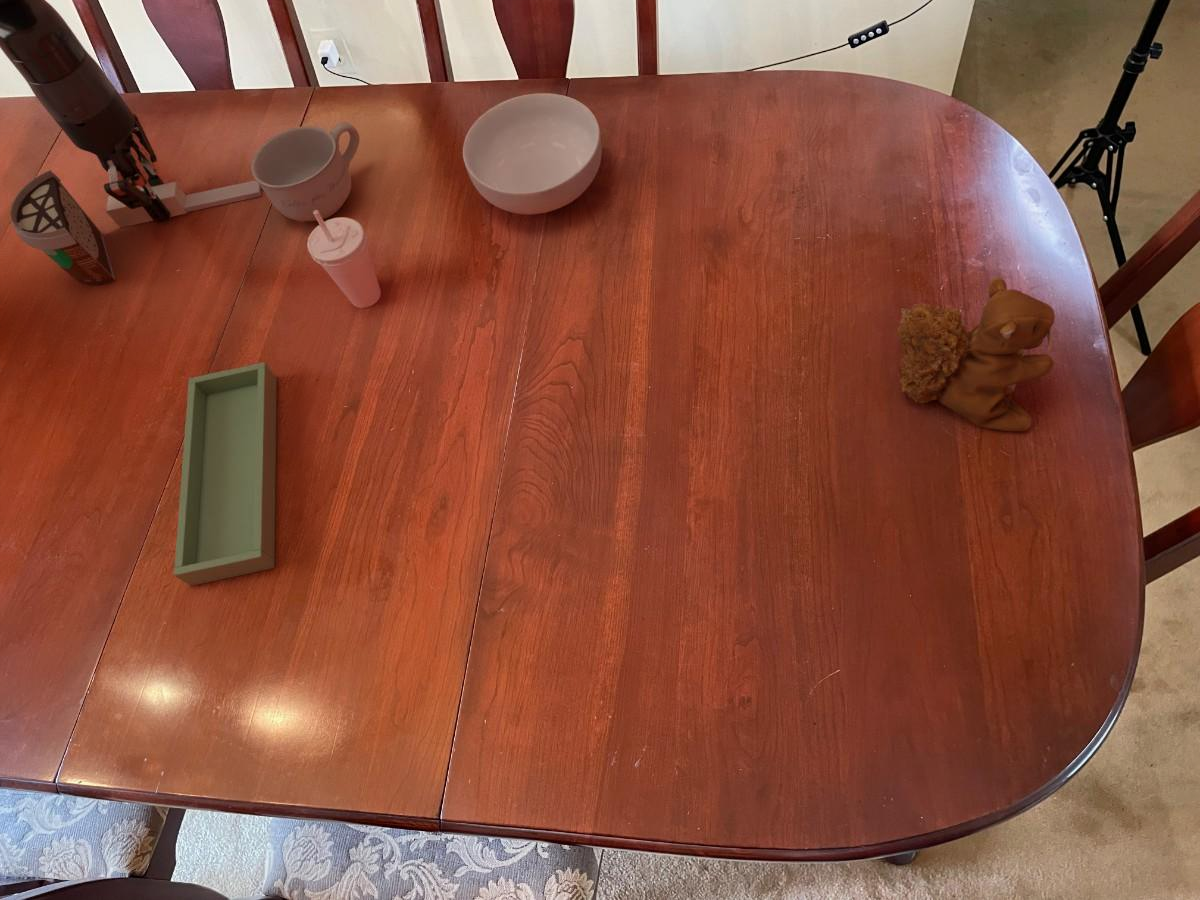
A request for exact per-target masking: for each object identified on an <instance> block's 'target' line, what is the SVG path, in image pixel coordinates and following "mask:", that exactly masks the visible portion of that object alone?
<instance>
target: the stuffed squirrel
mask: <svg viewBox="0 0 1200 900" xmlns="http://www.w3.org/2000/svg"><path fill="white" fill-rule="evenodd" d="M1007 288H1008V287H1007V282H1006V281H1005V280H1004V279H1003V278H1002V277H994V278H992V279H991V280H990V283H989V285H988V297H989V299H988V300H987V302H986V304H985V305H984V307H983V310H982V313H981V318H980V322H979V323H978V324H976V326H975V327H974V328H972V329H971V331H968V332H967V329H966V326H965V325H964V324H963V322H962V321H963V320H962V312H960V308H959V307H956V306H953V307H952V308H950V307H947V306H946V307H941V306H939V305H936V306H933V305H930V304H927V303H925V302H922V303H914V304H913V306H914V307H911V309H906V308H904V307H902V308H900V309H901V310H900V311H901V316H902V317H901V319H900V320H898V323H899V325H898V326H897V328H896V333H897V334H896V337H897V339H898V341H899V344H900V347H901V350H902V351H904V353H903V354H904V355H903V356H902V357H900V358H899V360H900V363H899V367H900V370H901V371H900V373H901V379H900V380H898V383H900V386H901V392H902V393H904V394H906V395H907V397H908V398H910V399H912V400H913V401H914V403H918V404H927V403H929V402H932V401H936V400H937V401H938V402H939V404H941V405H942V406H945V407H947V409H950V410H952V411H953V412H954V413H956V414H958V415H959V416H961V417H962V418H964V419H966V420H968V421H969V422H970V423H972V424H973V425H974V426H977V427H980V428H985V429H990V430H996V431H1001V432H1002V431H1004V432H1020V433H1021V432H1025V431H1027V430H1029V428H1030V427H1031V424H1032V418H1031V416H1030V415H1029V413H1028V412H1027V411H1026V410H1025V409H1024V408H1023V407H1022V406H1020V405H1019V404H1018V403H1017V402H1015V401H1014V400H1013V399H1012V396H1013V393H1014V391H1015V390H1016V389H1015V388H1016V385H1019V384H1023V383H1027V382H1031V381H1035V380H1038V379H1040V378H1043V377H1044V376H1046V375H1048V374H1049V373H1050V372H1051V371H1052V370H1053V369H1054V367H1055V361H1054V360H1053V358H1052V356H1051V355H1048V354H1045V353H1044V354H1024V352H1025V351H1024V350H1027V351H1028V350H1033V349H1037V348H1038V347H1040V346H1041V345H1042V344H1043V343H1044V339H1045V338H1047V351H1048V352H1049V351H1052V350H1053V349H1052V345H1051V344H1052V331H1051V330H1052V326H1054V323H1055V317H1056V315H1055V310H1054V308H1053V307H1052V306H1050V305H1049V304H1048V303H1045V302H1043V301H1041V300H1039V299H1037V298H1035V297H1033V296H1031V295H1029V294H1026V293H1024V292H1022V291H1021V290H1017V289H1012V288H1010V289H1007Z"/></svg>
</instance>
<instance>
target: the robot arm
mask: <svg viewBox="0 0 1200 900" xmlns="http://www.w3.org/2000/svg"><path fill="white" fill-rule="evenodd" d="M0 50H1V51H2V52H3V53H4V55H5V56H6V57H7V59H8V60H9V61H10V62H11V64H12V65H13V66H14V67H15V69H16V70H17V71H18V72H19V74H20V75H21V76H22V77H23V79H24V81H26V83H27V84H28V86H29V88H30V89H31V91H32V93H33V94H34V96H35V97H36V99H37V100H38V102H40V104H41V105H42V106H43V108H44V109H45V110H46V111H47V113H48V114H49V115H50V116H51V118H52V119H53V120H54V121H55V123H56V124H57V125H58V126H59V127H60V129H61V130H62V131H63V132H64V134H65V135H66V136H67V137H68V139H69V140H70V141H71V142H72V143H73V145H74V146H75V147H76V148H78V149H79V150H81V151H85V152H88V153H91V154H93V155H95V156H96V157H97V159H98V161H99V163H100V165H101V167H102V168H103V169H104V171H105V172H107V173H108V177H109V182H108V183H104V184H103V189H104V191H105V193H107V195H108V196H112V197H113V198H115V199H116V200H118V201H120V202H121V203H123V204H124V205H126V206H127V207H129V208H130V209H136V208H138V207H143V208H144V209H145V210H146V211H147V213H148V214H149V215H150V217H151V218H152V219H153V220H154V222H156V223H157V222H158V223H159V222H163V221H167V220H170V219H171V217H170V212H169V211H168V209H167V208H166V207H165V205H164V204H163V203H162V201H161V200H160V198H159V197H158V196H157V194H155V192H154V191H153V189H152V188H151V187H153V186H158V185H162V184H165V183H164V181H163V180H162V179H161V177H160V176H159V169H158V168H157V166H156V165H155V164H154V163H156V162H157V161H158V159H157V158H158V157H157V155H156V153H155V151H154V148H153V147H152V145H151V143H150V141H149V139H148V137H147V135H146V132H145V130H144V128H143V126H142V124H141V122H140V119H139V117H138V116H137V114H135V113H133V112H132V110H131V109H130V107H129V106H128V105H127V103H126V101H125V100H124V99H123V97H122V96H121V94H120V93H119V92H118V90H117V89H116V88H115V86H114V84H113V83H112V82H111V81H110V79H109V77H108V76H107V75H106V73H105V72H104V70H103V69H102V68H101V66H100V65H99V63H97V61H96V60H95V59H94V57H92V55H90V53H88V51H87V49H86V48H84V45H82V42H81V41H80V40H79V39H78V37H77V36H76V35H75V33H74V31H73V30H72V29H71V27H70V26H69V25H68V23H67V22H66V20H65V19H64V18H63V17H62V15H61V14H60V13H59V12H58V10H56V9H55V8H54V7H53V6H52V5H51V4H50V3H49V2H48V1H47V0H0ZM139 187H141V188H139ZM140 189H144V191H141V190H140Z"/></svg>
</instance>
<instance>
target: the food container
mask: <svg viewBox="0 0 1200 900" xmlns="http://www.w3.org/2000/svg"><path fill="white" fill-rule="evenodd" d="M11 203H12V204H11V207H10V211H9V212H10V220H11V224H12V226H13V228H14V230H15V231H16V232H15V233H17V235H18V237H19V238H20V239H21V241H22V242H23V243H24V244H25V245H26V246H29V247H31V248H34V249H37V250H41V251H42V252H43V253H44V254H45V255H46V256H48V257H49V258H50V259H51V260H52V261H53V262H54V263H55V264H57V265H58V266H59V267H60V268H61V269H62V270H63V271H65V272H66V273H67V274H68V275H69V276H70V277H71V278H73V280H75V281H76V282H77V283H79V284H82V285H85V286H102V285H106V284H109V283H112V282H115V281H116V278H115V274H114V270H113V267H112V263H111V260H110V256H109V253H108V249H107V245H106V241H105V238H104V235H103V232H102V231H101V230H100V229H99V228H98V226H97V225H96V224H95V223H94V221H93V220H92V219H91V218H90V217H89V215H88V214H87V213H86V211H84V209H83V208H82V207H81V206H80V204H79V203H78V202H77V201H76V199H75V197H73V195H71V193H70V192H69V190H68V189H67V188H66V187H65V185H64V184H63V183H62V182H61V178H60V177H58V176H57V174H55V172H53V171H52V170H51V169H48V170H47V171H44V172H43V173H41V174H39V175H38V176H36V177H34V178H33V179H31V180H30V181H29V182H28V183H26V184H25V185H24V186H23V188H22V189H20V191H18V193H17V194H16V195H15V197H14V199H13V201H12V202H11Z"/></svg>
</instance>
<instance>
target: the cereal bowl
mask: <svg viewBox="0 0 1200 900" xmlns="http://www.w3.org/2000/svg"><path fill="white" fill-rule="evenodd" d="M464 138H465V139H464V141H463V146H462V158H463V163H464V167H465V169H466V173H467V174H468V177H469V179H470V181H471V183H472V185H473V187H474V188H475V189H476V191H477V192H478V193H479V195H480V196H481V197H482V198H483V199H485V201H487V202H488V203H489V204H491V205H493V206H494V207H496V208H498V209H501V210H502V211H505V212H509V213H512V214H517V215H538V214H539V215H540V214H546V213H549V212H552V211H556V210H558V209H561V208H563V207H565V206H567V205H569V204H570V203H572V202H574V201H575V200H576V199H578V198H579V197H580V196H581V195H582V194H583V193H584V192H585V191H586V190H587V189H588V188H589V187H590V185H591V184H592V182H593V181H594V179H595V178H596V175H597V174H598V171H599V168H600V167H601V166H600V165H601V161H602V155H603V143H602V133H601V127H600V124H599V123H598V120H597V118H596V116H595V114H594V113H593V112H592V110H590V108H589V107H588V106H586V105H585V104H584V103H582V102H580V101H579V100H577V99H575V98H572V97H571V96H567V95H563V94H558V93H547V92H537V93H530V94H523V95H518V96H515V97H512V98H508V99H507V100H505V101H504V100H503V101H502V102H499V103H498V104H495V105H494V106H492V107H491V108H489V109H488V110H486V111H485V112H484V113H482V114H481V115H480V116H479V117H478V118H477V119H476V120H475V121H474V123H473V124H472V125H471V127H470V128H469V130H468V132H467V133H466V135H465V137H464Z"/></svg>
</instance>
